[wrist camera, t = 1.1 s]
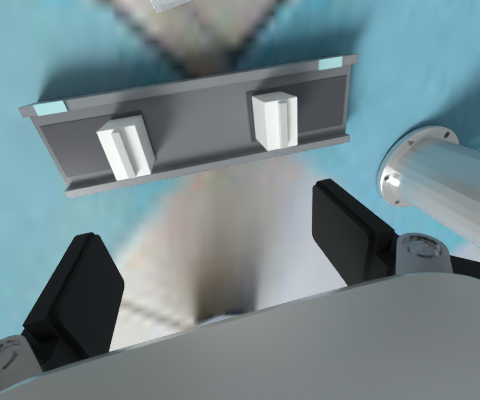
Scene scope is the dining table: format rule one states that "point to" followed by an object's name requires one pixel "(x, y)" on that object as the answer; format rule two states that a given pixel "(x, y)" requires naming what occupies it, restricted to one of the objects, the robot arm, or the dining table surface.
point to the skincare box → (167, 4)
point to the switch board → (194, 121)
